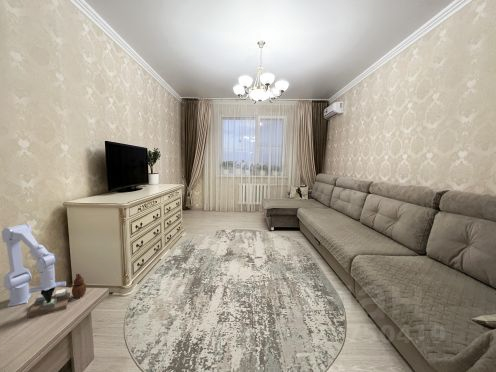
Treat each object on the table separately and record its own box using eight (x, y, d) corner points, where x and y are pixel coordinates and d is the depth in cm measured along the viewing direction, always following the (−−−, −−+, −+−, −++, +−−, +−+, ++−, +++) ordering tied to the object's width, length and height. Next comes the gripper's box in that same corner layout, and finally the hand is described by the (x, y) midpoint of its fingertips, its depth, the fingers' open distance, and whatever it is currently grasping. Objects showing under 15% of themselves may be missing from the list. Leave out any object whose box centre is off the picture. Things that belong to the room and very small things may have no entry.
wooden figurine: (78, 300, 127) (76, 275, 125) (69, 298, 128) (68, 274, 127) (88, 293, 133) (87, 270, 132) (80, 292, 135) (79, 268, 133)
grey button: (39, 298, 123) (38, 294, 122) (48, 296, 125) (48, 292, 124) (37, 301, 119) (36, 298, 119) (47, 299, 121) (46, 295, 121)
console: (36, 303, 123) (35, 296, 123) (70, 295, 131) (69, 289, 131) (28, 318, 111) (27, 310, 111) (66, 308, 119) (65, 301, 119)
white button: (56, 294, 127) (56, 290, 126) (65, 292, 129) (65, 288, 128) (55, 297, 123) (55, 294, 123) (64, 295, 125) (64, 292, 125)
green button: (45, 304, 119) (44, 300, 119) (54, 302, 121) (54, 298, 121) (43, 308, 115) (43, 304, 115) (53, 306, 118) (53, 302, 117)
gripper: (26, 284, 109) (28, 310, 111) (64, 277, 117) (65, 301, 118) (30, 278, 115) (32, 302, 117) (66, 271, 123) (67, 294, 124)
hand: (49, 301), depth 118 cm, fingers closed, pressing on green button
